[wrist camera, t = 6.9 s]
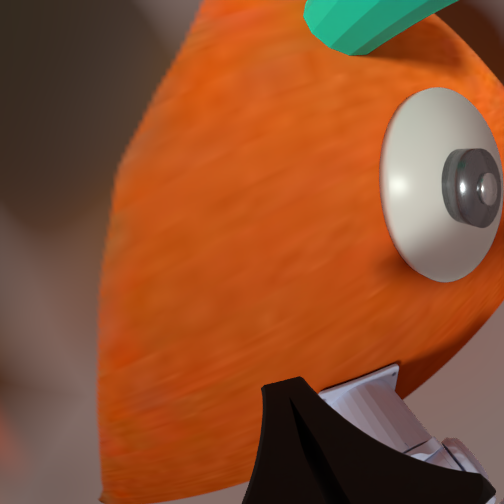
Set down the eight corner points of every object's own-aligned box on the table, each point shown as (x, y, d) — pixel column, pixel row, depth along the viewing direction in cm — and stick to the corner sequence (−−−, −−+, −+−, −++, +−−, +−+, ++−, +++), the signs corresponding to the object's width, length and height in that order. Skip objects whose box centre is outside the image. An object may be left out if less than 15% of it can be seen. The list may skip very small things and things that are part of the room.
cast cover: (481, 217, 18) (506, 223, 15) (442, 227, 17) (470, 235, 14) (478, 149, 16) (503, 150, 13) (437, 147, 16) (466, 146, 13)
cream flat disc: (493, 256, 21) (501, 259, 20) (383, 300, 19) (392, 306, 18) (483, 102, 16) (491, 101, 15) (360, 80, 15) (369, 75, 14)
